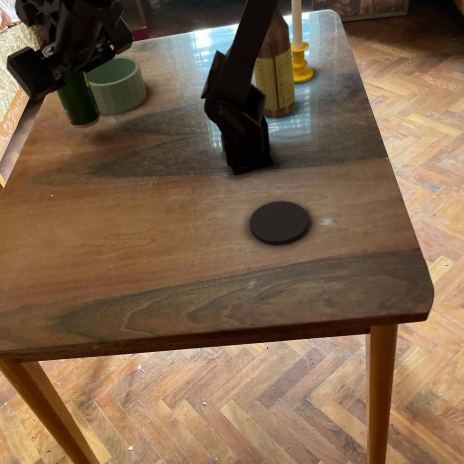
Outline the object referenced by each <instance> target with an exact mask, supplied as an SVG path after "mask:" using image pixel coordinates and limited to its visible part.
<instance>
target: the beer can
mask: <svg viewBox="0 0 464 464" xmlns="http://www.w3.org/2000/svg"><path fill="white" fill-rule="evenodd" d="M51 46H53V44H52V43H50V44H49V45H47V46H46V47H44V48H43V50H41V52H42V53H43V54H44V56H45V57H48V56H50V55H52V54H53V53H52V52H51V51H50V47H51ZM62 64H63V63H62ZM59 65H60V64H59ZM57 66H58V65H57ZM61 78H62V79H63V80H64V82H65V83H66V85H65V86H64V87H62V88H60V89H58V90H57V91H56V93H57V96H58V98H59V101H60V103H61V105H62V108H63V110H64V112H65V115H66V117H67V119H68V122H69V123H70V125H71V126H72V127H73V128H76V129H87V128H90V127H93V126H94V125H96V124H98V122H99V121H100V119H101V113H100V110H99V108H98V105H97V102H96V100H95V97H94V94H93V91H92V89H91V86H90V83H89V81H88V78H87V75H86V72H85V70H84V67H83V66H82V67H81V68H79V69H77V70H75V71H73V70H72V69H71V68H68V69H66V70H64V71H62V77H61Z"/></svg>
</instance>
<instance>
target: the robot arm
mask: <svg viewBox="0 0 464 464" xmlns="http://www.w3.org/2000/svg"><path fill="white" fill-rule="evenodd" d="M14 2H15V3H14V11H15V15H16V16H17V18H18V20H19V21H20V22H21V23H23V24H24V25H25V26H26V28H31V27H33V26H36V27H40V28H41V30H42V38H43V39H44V40H45V41H46V43H47V44H49V45H50V44H53V46H51V47H50V51H51V52H52V53H53V54H52V55H50V56H48V57H45V56H44V54H43V53H42V50H41V49H39V48H38V49H37V50H35V49H34V48H33V47H31V46H29V45H26V46H24V47H22V48H20V49H19V50H17V51H15V52H13V53H11V54H8V55H7V58H6V70H7V71H8V73H10V75H11V76H12V77H13V79H14V80H15V81H16V83H17V84H18V85H19V87H20V89H22V90H23V92H24V93H25V94H26V96H27V97H28V98H29V99H30V100H32V101H39V100H41V99H42V98H44V97H45V96H48V95H50V94H53V93H55V92H57V90H58V89H60V88H62V87H64V86H65V85H66V83H65V82H64V80H63V79H62V78H61V77H62V71H64V70H66V69H68V68H71V69H72V70H73V71H75V70H77V69H79V68H81V67H82V66H83V67H84V70H85V72H86V73H88V72H90V71H92V70H93V69H95V68H97V67H99V66H101V65H103V64H105V63H106V62H108V61H110V60H112V59H113V58H115V57H116V55H117V56H119V55H121V54H122V53H125V52H126V51H128V50H130V49H131V48H132V47H133V44H134V40H135V39H134V38H135V37H134V34H133V31H132V29H131V28H130V27H129V25H128V24H127V22H126V21H125V20H124V18H123V17H122V15H123V13H124V11H125V6H124V4H123V3H122V2H121V1H120V0H15V1H14ZM279 2H280V0H246V2H245V5H244V7H243V11H242V14H241V17H240V19H239V22H238V26H237V28H236V32H235V34H234V36H233V37H234V38H233V40H232V43H231V45H230V46H229V48H228V50H227V51H226V53H223V52H222V51H220V50H218V49H216V50H215V52H214V56H213V59H212V61H211V65H210V68H209V71H208V73H207V77H206V80H205V83H204V86H203V89H202V92H201V95H200V99H201V100H204V103H203V112H204V114H205V115H206V116H207V118H208V120H210V121H211V123H213V124H215V126H216V127H217V129H218V131H219V132H220V141H221V148H222V153H223V158H224V161H225V163H226V166H227V167H230V170H231V172H232V175H234V176H240V175H242V174H246V173H251V172H255V171H259V170H262V169H266V168H270V167H273V166H275V160H274V158H273V156H272V154H271V143H270V130H269V123H268V121H267V120H266V119H267V118H266V117H265V115H264V114H263V112H264V107H265V102H266V95H265V94H264V93H263V92H261V91H260V90H259V89H258V88H257V87H256V85H254V84H253V83H252V81H253V77H254V76H253V75H254V66H255V62H256V59H257V57H258V54H259V52H260V49H261V47H262V44H263V41H264V39H265V36H266V34H267V31H268V28H269V26H270V23H271V21H272V18H273V16H274V13H275V10H276V8H277V5H278V3H279ZM279 4H280V3H279ZM111 46H112V47H113V48H112V47H111ZM62 63H63V64H62ZM59 64H60V65H59ZM57 65H58V66H57Z"/></svg>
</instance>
